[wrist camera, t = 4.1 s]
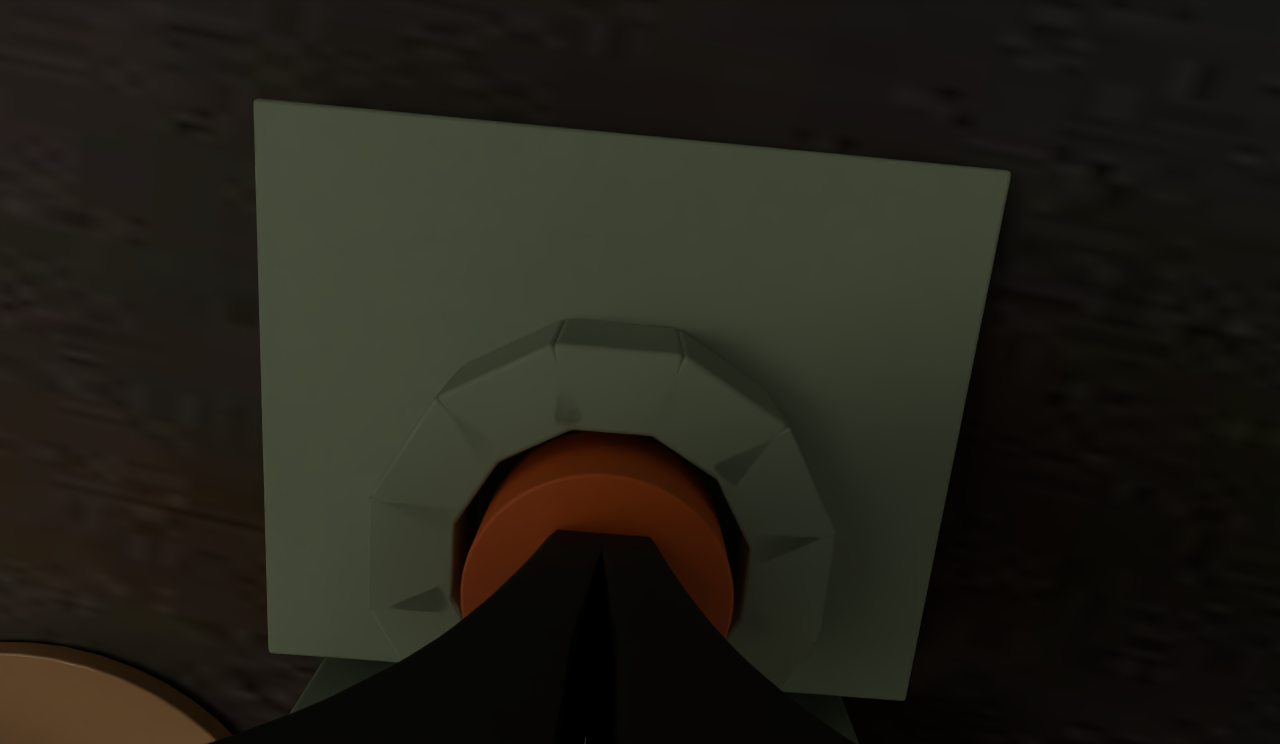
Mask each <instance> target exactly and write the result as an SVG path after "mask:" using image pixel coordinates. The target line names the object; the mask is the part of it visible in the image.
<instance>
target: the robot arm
mask: <svg viewBox="0 0 1280 744" xmlns="http://www.w3.org/2000/svg"><path fill="white" fill-rule="evenodd" d="M585 738H586V744H855V743H854V742H852V741H850V740H849V739H847V738H846V737H844V736H843V735H841V734H840V733H839V732H837V731H836V730H834V729H833V728H831V727H830V726H829V725H827V724H826V723H824V722H823V721H821V720H820V719H819V718H817V717H816V716H814V715H813V714H811V713H810V712H809V711H807V710H806V709H804V708H803V707H802V706H800V705H799V704H798V703H797V702H795V701H794V700H793V699H791V698H790V697H789V696H787V695H786V694H785V693H784V692H782V691H781V690H780V689H779V688H778V687H777V686H775V685H774V684H773V683H772V682H771V681H770V680H769V679H767V678H766V677H765V676H764V675H763V674H762V673H761V672H759V671H758V670H757V669H756V668H755V667H754V666H753V665H751V664H750V663H749V662H748V661H747V660H746V659H745V658H744V657H743V656H742V655H741V654H740V653H739V652H738V651H737V650H736V649H735V648H734V647H733V646H732V645H731V644H730V643H729V642H728V641H727V640H726V639H725V638H724V637H723V635H722V634H721V633H720V632H719V631H718V630H717V629H716V628H715V627H714V626H713V624H712V623H711V622H710V621H709V620H708V618H707V617H706V616H705V615H704V613H703V612H702V611H701V610H700V608H699V607H698V606H697V604H696V603H695V602H694V600H693V599H692V598H691V597H690V595H689V594H688V593H687V591H686V590H685V589H684V587H683V586H682V584H681V583H680V582H679V580H678V579H677V577H676V576H675V574H674V573H673V571H672V570H671V568H670V567H669V565H668V564H667V562H666V560H665V559H664V557H663V556H662V554H661V552H660V551H659V549H658V547H657V545H656V544H655V543H654V542H653V541H652V539H651V538H650V537H646V536H633V535H620V534H607V533H595V532H583V531H570V530H558V529H557V530H556V531H555V532H553V533H552V534H551V535H549V536H548V537H547V538H546V540H545V541H544V542H543V543H542V544H541V546H540V547H539V548H538V549H537V550H536V551H535V552H534V553H533V555H532V556H531V557H530V558H529V559H528V560H527V561H526V562H525V563H524V564H523V565H522V566H521V567H520V568H519V569H518V570H517V571H516V572H515V573H514V574H513V575H512V576H511V577H510V578H509V579H508V580H507V581H506V582H505V583H504V584H503V585H502V586H501V587H499V588H498V589H497V590H496V591H495V592H494V593H493V594H492V595H491V596H490V597H489V598H488V599H486V600H485V601H484V602H483V603H481V604H480V605H479V606H478V607H477V608H475V609H474V610H473V611H472V612H471V613H469V614H468V615H467V616H466V617H464V618H463V619H462V620H461V621H460V622H458V623H457V624H456V625H455V626H453V627H452V628H451V629H449V630H448V631H447V632H445V633H444V634H442V635H441V636H440V637H438V638H437V639H435V640H434V641H432V642H430V643H429V644H427V645H426V646H424V647H422V648H421V649H419V650H418V651H416V652H414V653H413V654H411V655H410V656H408V657H406V658H405V659H403V660H401V661H400V662H398V663H396V664H394V665H392V666H390V667H388V668H387V669H385V670H383V671H381V672H379V673H377V674H375V675H373V676H371V677H369V678H367V679H365V680H363V681H361V682H359V683H357V684H355V685H353V686H351V687H349V688H347V689H345V690H343V691H341V692H339V693H337V694H335V695H333V696H331V697H329V698H327V699H324V700H322V701H320V702H317V703H315V704H313V705H310V706H308V707H305V708H303V709H301V710H298V711H296V712H293V713H291V714H289V715H286V716H284V717H281V718H278V719H276V720H273V721H270V722H267V723H265V724H262V725H259V726H257V727H254V728H251V729H249V730H246V731H243V732H240V733H237V734H234V735H232V736H229V737H226V738H223V739H220V740H217V741H214V742H210V743H207V744H584V742H585Z"/></svg>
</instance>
